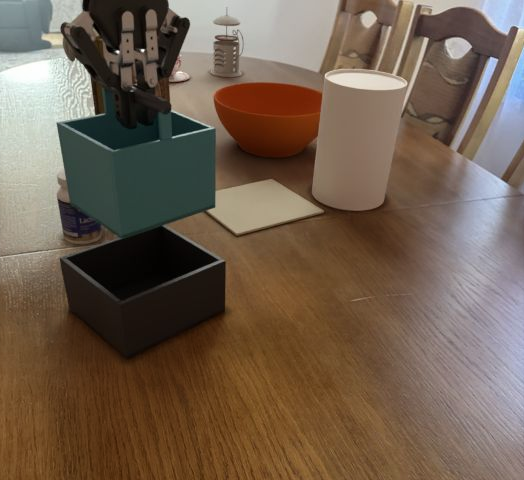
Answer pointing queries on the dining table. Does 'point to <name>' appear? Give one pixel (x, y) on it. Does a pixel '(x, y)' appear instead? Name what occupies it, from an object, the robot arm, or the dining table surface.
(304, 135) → the bowl
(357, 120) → the canister
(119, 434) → the dining table surface
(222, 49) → the french press
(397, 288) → the dining table surface
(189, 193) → the teal bin
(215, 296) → the charcoal bin
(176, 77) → the teacup
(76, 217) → the pill bottle
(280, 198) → the cream mat
